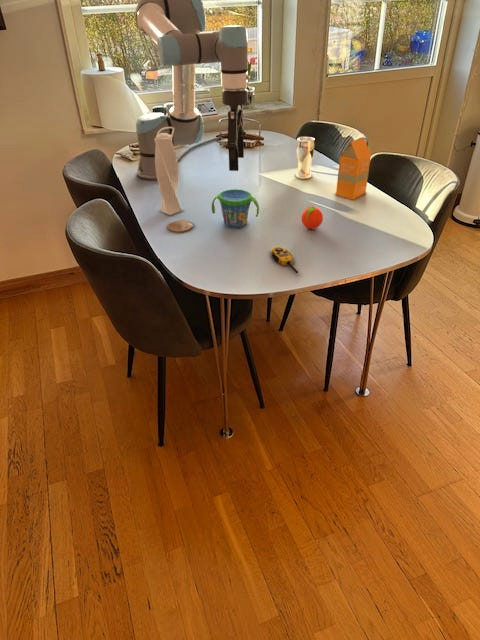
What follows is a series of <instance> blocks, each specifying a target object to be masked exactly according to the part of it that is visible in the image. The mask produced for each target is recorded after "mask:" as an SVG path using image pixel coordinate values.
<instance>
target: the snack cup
mask: <svg viewBox="0 0 480 640" xmlns="http://www.w3.org/2000/svg"><path fill="white" fill-rule="evenodd" d="M217 199H218V201H219V203H220V207H221V213H222V219H223V223H224V225H225V226H227V228H234V229H235V228H237V229H241V228H242V227H245V226H246V225H247V223H248V216H249V211H250V206H251V203H252V202H253V203H254V206H255V207H256V214H255V218H258V215H259V211H260V206H259V202H258V200H257V199H256V198H255V197H253V195H252V193H250V192H249V191H247V190H245V189H237V188H236V189H226V190H224V191H221V192H220V193H219V194H217V195H216V196H215V197H214V198H213V199H212V202H211V213H212V214H213V215H214V214H216V206H215V201H216V200H217Z"/></svg>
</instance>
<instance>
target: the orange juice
mask: <svg viewBox="0 0 480 640" xmlns="http://www.w3.org/2000/svg"><path fill="white" fill-rule="evenodd" d="M371 157H372V154H371V151H370V149H369V146H368V144H367V141H366V139H365V136H363V137H359V138H357V139H355V140H352V141H351V142H350V143H349V144H348V145H347V146H346V148H345V149H344V150H343V152H342V153H340V155H339V164H338V171H337V181H336V191H335V195H336V196H340V197H343V198H346V199H350V200H355V199H357V198H359V197H361V196H363V195H364V194H366V192H367V186H368V185H367V184H368V178H369V173H370V165H371V159H372V158H371Z"/></svg>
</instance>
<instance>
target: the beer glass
mask: <svg viewBox="0 0 480 640" xmlns="http://www.w3.org/2000/svg"><path fill="white" fill-rule="evenodd" d="M295 153H296V163H297V170H296V174H295V177H296V178H298V179H299V180H301V179H302V180H307V179H310V178H312V173H311V168H312V163H313V159H314V154H315V138H314V137H312V136H299V137H298V138H297V142H296V152H295Z"/></svg>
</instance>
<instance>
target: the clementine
mask: <svg viewBox="0 0 480 640" xmlns="http://www.w3.org/2000/svg"><path fill="white" fill-rule="evenodd" d="M300 218H301V219H300V220H301V223H302V225H303V226H304V227H305V228H307V229H311V230H314V229H317V228H319V227H320V226H321V225H322V223H323V221H324V215H323V212H322V211H321V209H319V208H318V207H316V206H309V207H307V208H306V209H304V210H303V211H302V214H301V217H300Z"/></svg>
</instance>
